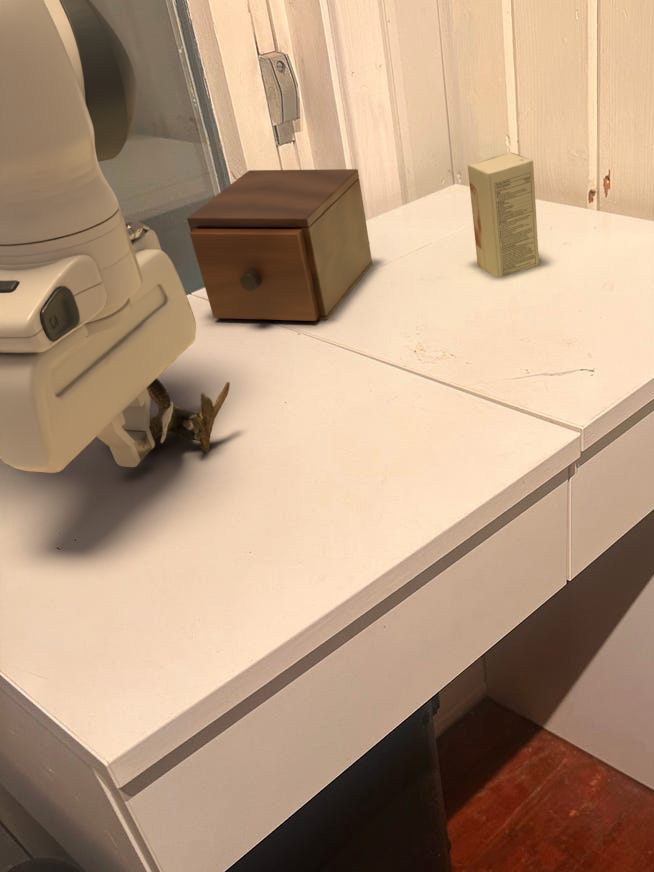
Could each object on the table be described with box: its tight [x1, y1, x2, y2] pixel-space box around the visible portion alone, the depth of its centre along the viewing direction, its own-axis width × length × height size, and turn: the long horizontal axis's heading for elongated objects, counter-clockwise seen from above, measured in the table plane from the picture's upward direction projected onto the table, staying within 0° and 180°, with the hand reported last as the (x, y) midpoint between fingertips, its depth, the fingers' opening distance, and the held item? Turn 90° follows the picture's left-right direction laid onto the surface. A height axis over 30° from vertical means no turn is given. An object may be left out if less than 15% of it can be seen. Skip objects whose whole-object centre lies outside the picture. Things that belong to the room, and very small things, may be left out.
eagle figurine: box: [147, 378, 231, 453], centre depth 69 cm, size 8×7×9 cm
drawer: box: [189, 227, 319, 322], centre depth 86 cm, size 14×10×8 cm
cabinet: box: [186, 168, 373, 321], centre depth 88 cm, size 14×12×10 cm
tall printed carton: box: [467, 151, 540, 278], centre depth 88 cm, size 5×4×10 cm
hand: (137, 457), depth 67 cm, fingers closed
